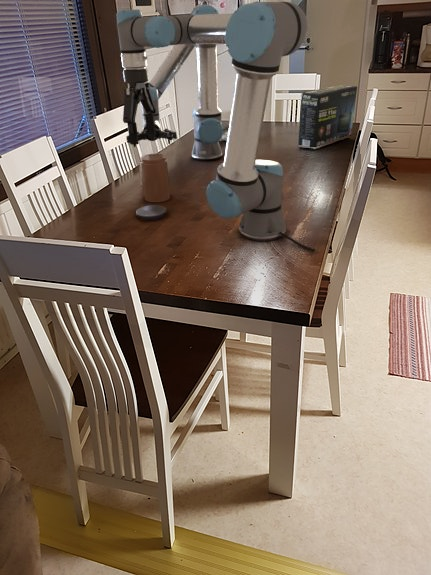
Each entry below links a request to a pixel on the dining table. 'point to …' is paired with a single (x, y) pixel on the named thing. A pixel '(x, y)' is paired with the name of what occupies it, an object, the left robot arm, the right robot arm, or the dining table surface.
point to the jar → (155, 177)
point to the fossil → (224, 137)
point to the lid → (151, 213)
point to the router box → (326, 115)
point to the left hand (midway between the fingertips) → (151, 142)
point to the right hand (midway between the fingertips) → (143, 139)
